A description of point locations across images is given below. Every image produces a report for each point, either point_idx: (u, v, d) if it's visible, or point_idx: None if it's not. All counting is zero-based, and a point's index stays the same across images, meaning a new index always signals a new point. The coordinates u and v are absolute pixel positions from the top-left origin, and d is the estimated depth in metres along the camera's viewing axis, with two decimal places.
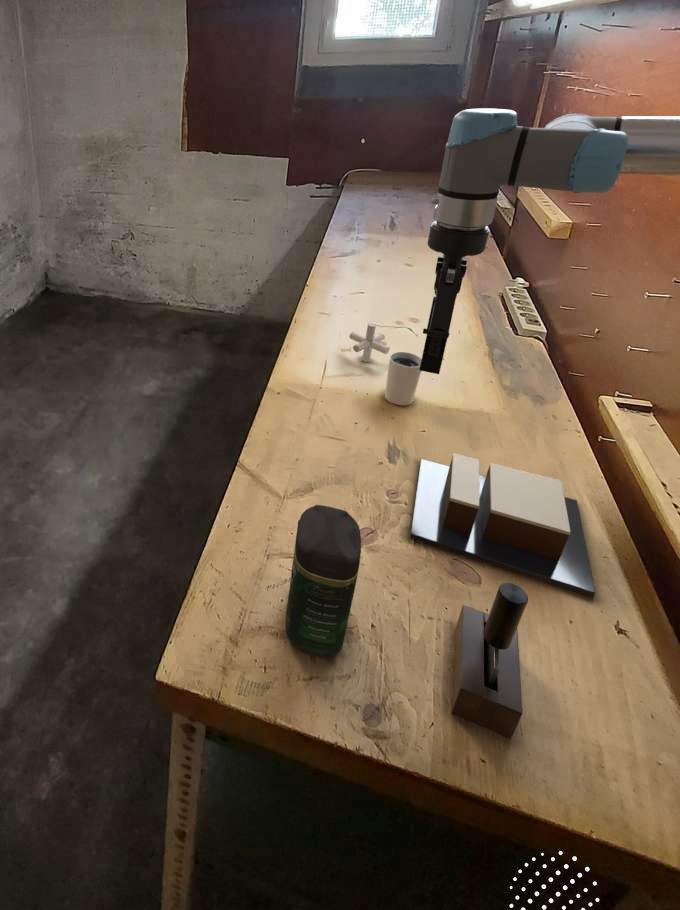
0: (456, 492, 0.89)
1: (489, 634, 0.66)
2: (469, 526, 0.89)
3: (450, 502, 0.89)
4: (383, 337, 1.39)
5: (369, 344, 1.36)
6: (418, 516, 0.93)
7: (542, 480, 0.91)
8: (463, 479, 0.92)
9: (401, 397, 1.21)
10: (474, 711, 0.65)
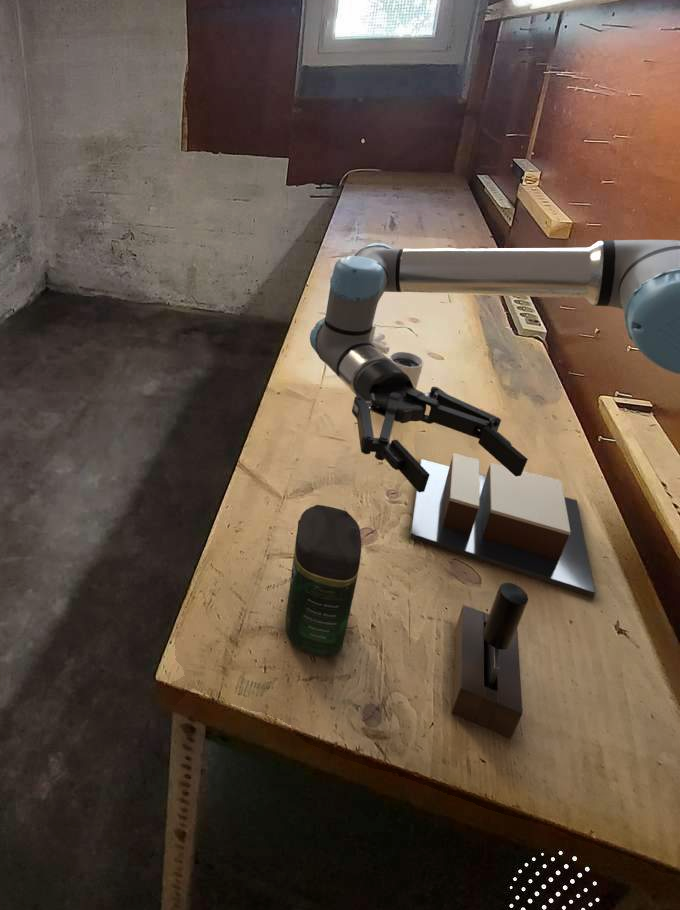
0: (456, 492, 0.89)
1: (489, 634, 0.66)
2: (469, 526, 0.89)
3: (450, 502, 0.89)
4: (383, 337, 1.39)
5: None
6: (418, 516, 0.93)
7: (542, 480, 0.91)
8: (463, 479, 0.92)
9: None
10: (474, 711, 0.65)
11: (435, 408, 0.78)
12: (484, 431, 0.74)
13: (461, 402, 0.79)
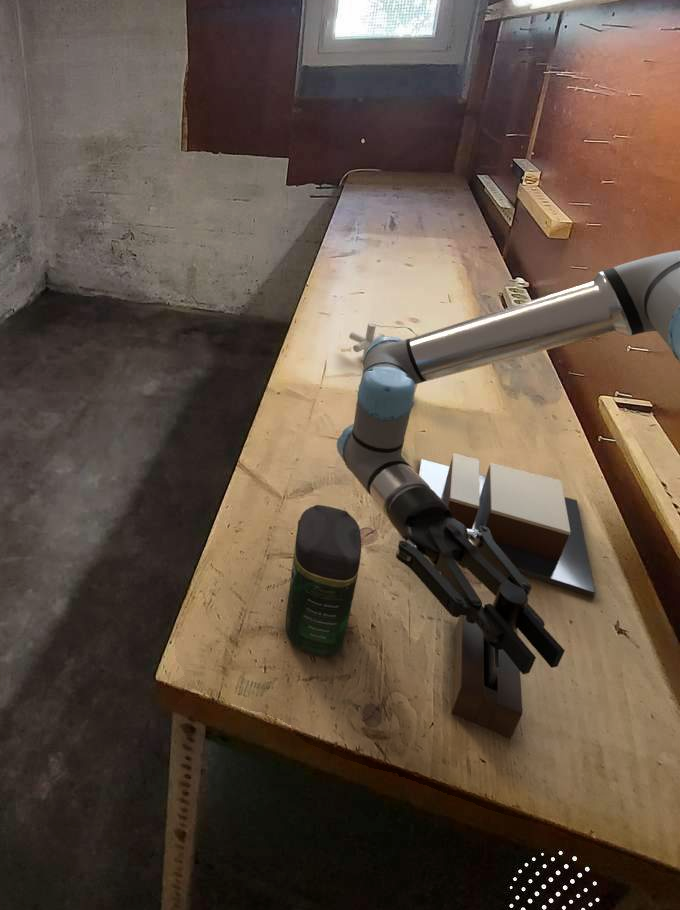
0: (456, 492, 0.89)
1: None
2: (469, 526, 0.89)
3: (450, 502, 0.89)
4: None
5: (369, 344, 1.36)
6: None
7: (542, 480, 0.91)
8: (463, 479, 0.92)
9: None
10: (474, 711, 0.65)
11: (468, 553, 0.71)
12: None
13: (500, 553, 0.71)
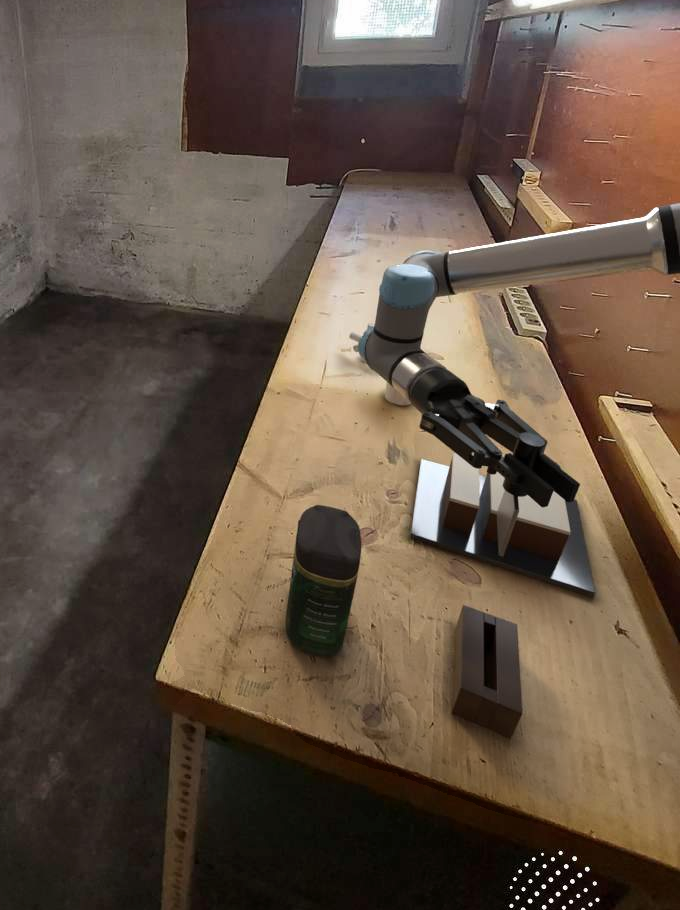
0: (456, 492, 0.89)
1: (509, 483, 0.71)
2: (469, 526, 0.89)
3: (450, 502, 0.89)
4: None
5: None
6: (418, 516, 0.93)
7: None
8: (463, 479, 0.92)
9: (401, 397, 1.21)
10: (474, 711, 0.65)
11: (487, 419, 0.77)
12: None
13: (517, 418, 0.77)
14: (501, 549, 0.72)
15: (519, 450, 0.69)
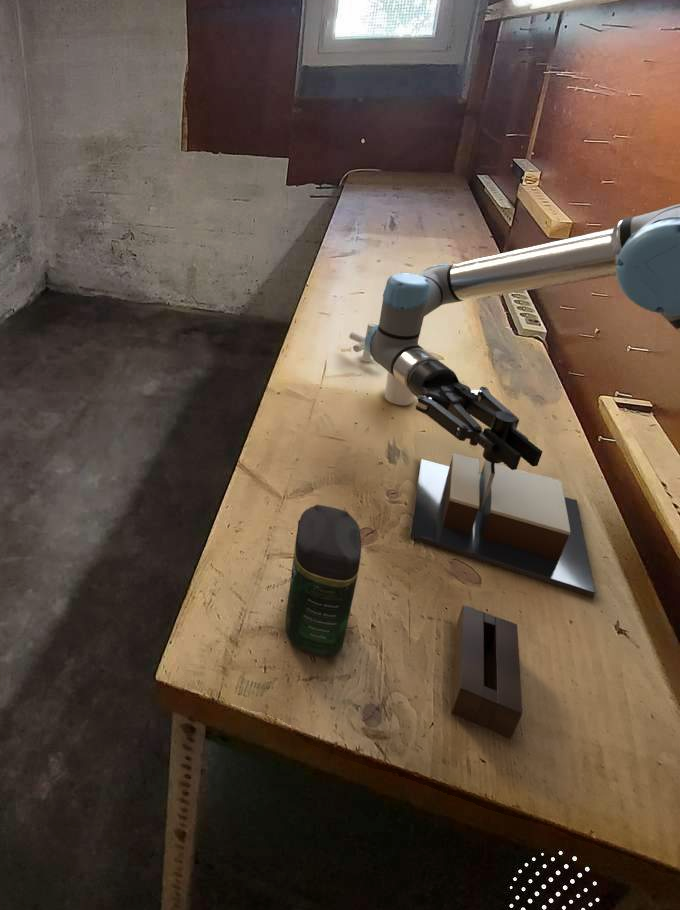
0: (456, 492, 0.89)
1: (487, 452, 0.88)
2: (469, 526, 0.89)
3: (450, 502, 0.89)
4: None
5: None
6: (418, 516, 0.93)
7: (542, 480, 0.91)
8: (463, 479, 0.92)
9: (401, 397, 1.21)
10: (474, 711, 0.65)
11: (471, 402, 0.93)
12: None
13: (496, 401, 0.93)
14: (481, 506, 0.89)
15: (495, 425, 0.85)
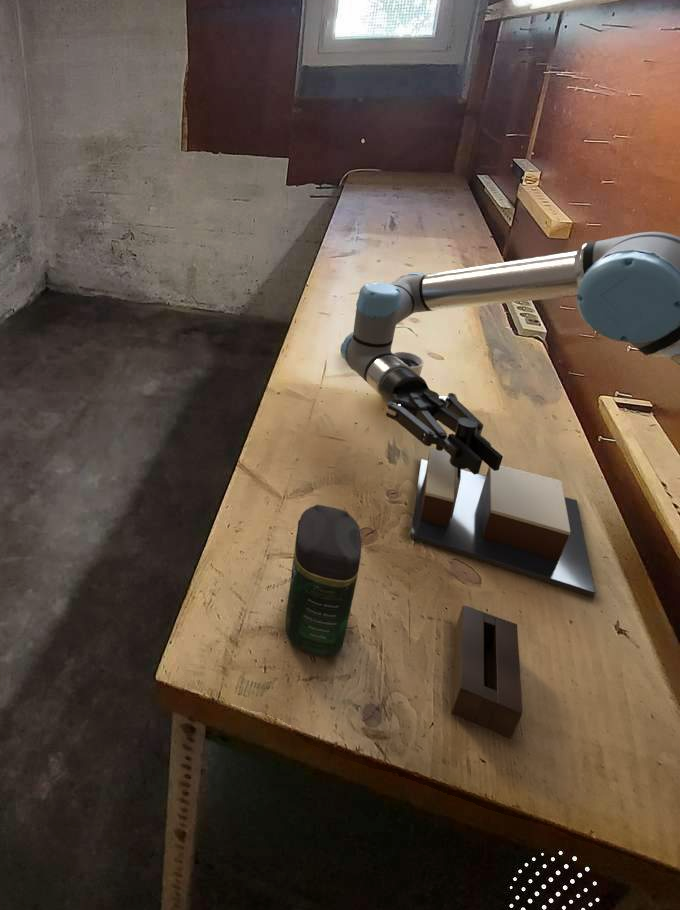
0: (431, 486, 0.91)
1: (453, 458, 0.90)
2: (446, 519, 0.90)
3: (426, 496, 0.90)
4: None
5: None
6: (418, 516, 0.93)
7: (542, 480, 0.91)
8: (439, 473, 0.93)
9: None
10: (474, 711, 0.65)
11: (438, 408, 0.96)
12: None
13: (462, 407, 0.96)
14: None
15: (458, 431, 0.88)
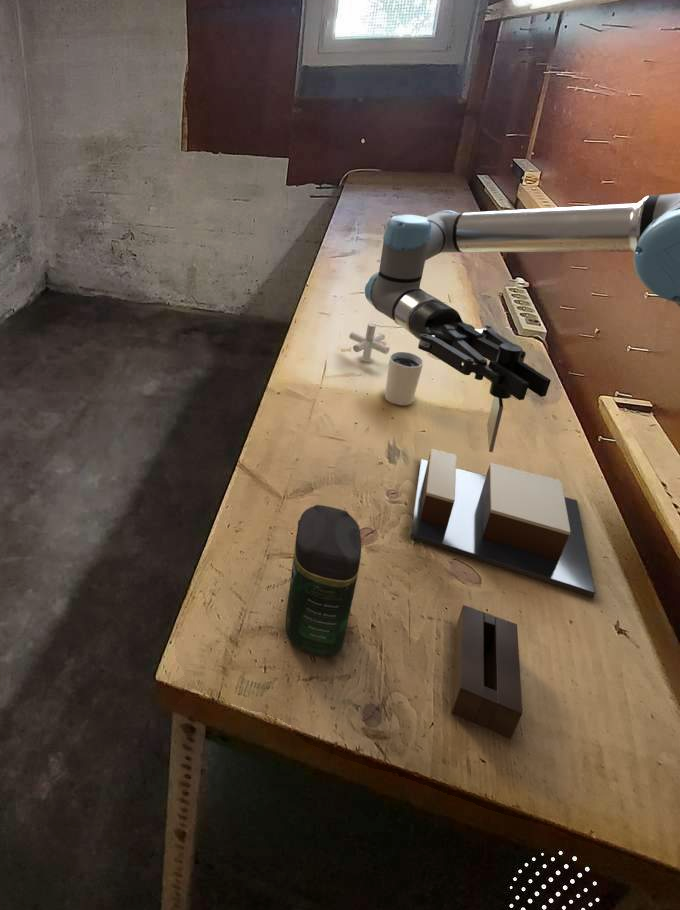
0: (432, 487, 0.90)
1: (494, 388, 0.84)
2: (445, 520, 0.90)
3: (426, 496, 0.90)
4: (383, 337, 1.39)
5: (369, 344, 1.36)
6: (418, 516, 0.93)
7: (542, 480, 0.91)
8: (440, 474, 0.93)
9: (401, 397, 1.21)
10: (474, 711, 0.65)
11: (476, 338, 0.90)
12: None
13: (501, 337, 0.90)
14: (490, 445, 0.85)
15: (500, 356, 0.82)
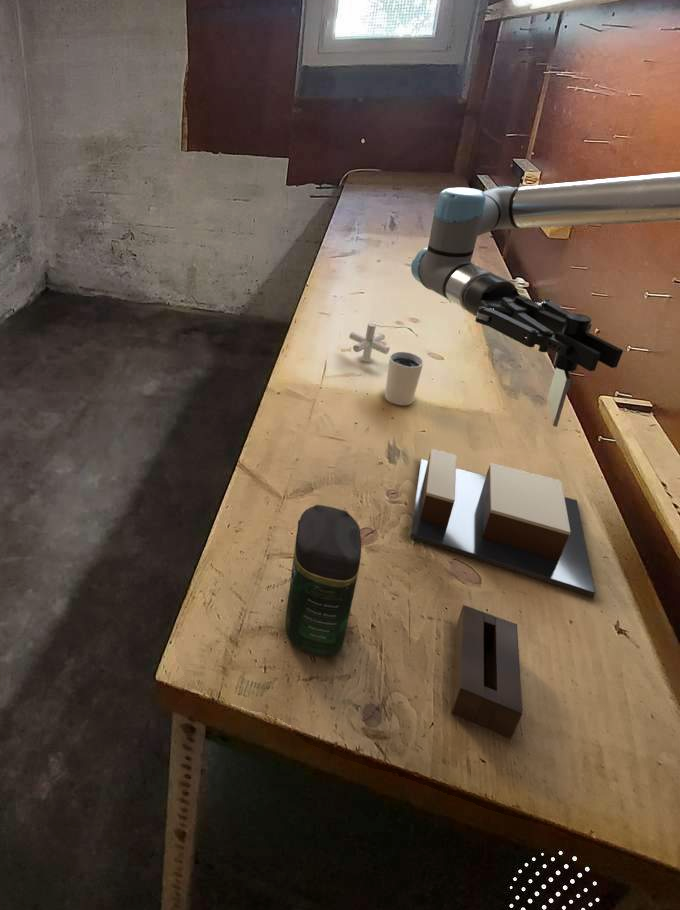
0: (432, 487, 0.90)
1: (559, 360, 0.82)
2: (445, 520, 0.90)
3: (426, 496, 0.90)
4: (383, 337, 1.39)
5: (369, 344, 1.36)
6: (418, 516, 0.93)
7: (542, 480, 0.91)
8: (440, 474, 0.93)
9: (401, 397, 1.21)
10: (474, 711, 0.65)
11: (536, 311, 0.88)
12: None
13: (563, 310, 0.87)
14: (555, 419, 0.82)
15: (568, 327, 0.80)
